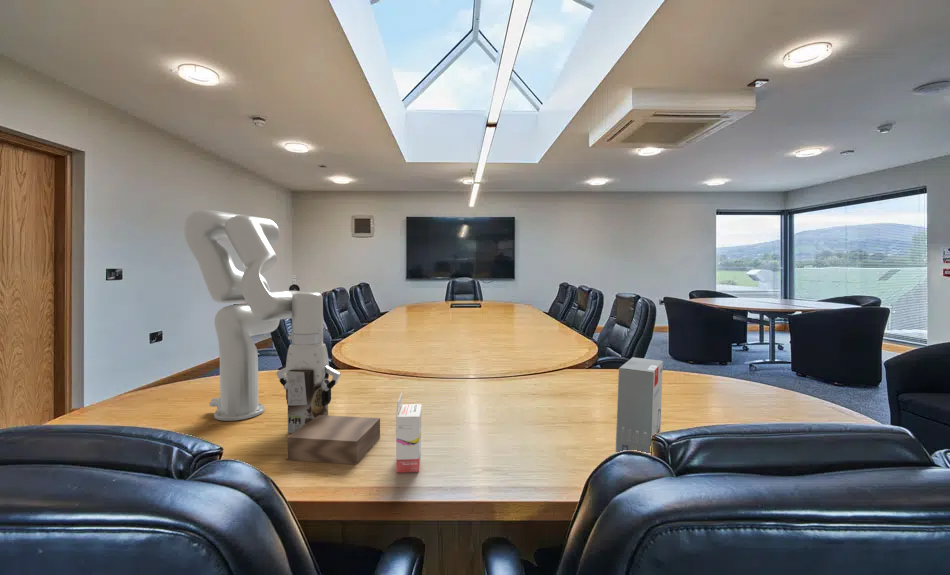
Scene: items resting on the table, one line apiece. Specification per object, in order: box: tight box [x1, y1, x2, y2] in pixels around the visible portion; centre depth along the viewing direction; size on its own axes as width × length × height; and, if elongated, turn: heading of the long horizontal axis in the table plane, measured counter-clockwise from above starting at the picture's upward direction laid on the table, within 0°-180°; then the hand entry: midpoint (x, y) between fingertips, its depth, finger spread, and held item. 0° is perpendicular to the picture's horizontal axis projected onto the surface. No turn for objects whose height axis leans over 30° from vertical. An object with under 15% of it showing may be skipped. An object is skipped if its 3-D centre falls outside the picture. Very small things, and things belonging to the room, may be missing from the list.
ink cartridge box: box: [395, 391, 423, 474], centre depth 88 cm, size 9×5×15 cm, turn 5°
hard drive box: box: [615, 356, 664, 453], centre depth 97 cm, size 16×8×20 cm, turn 148°
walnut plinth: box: [286, 414, 381, 465], centre depth 95 cm, size 16×14×5 cm
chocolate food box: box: [287, 370, 329, 434], centre depth 108 cm, size 9×6×16 cm
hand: (308, 403), depth 108 cm, fingers open, 9 cm apart
